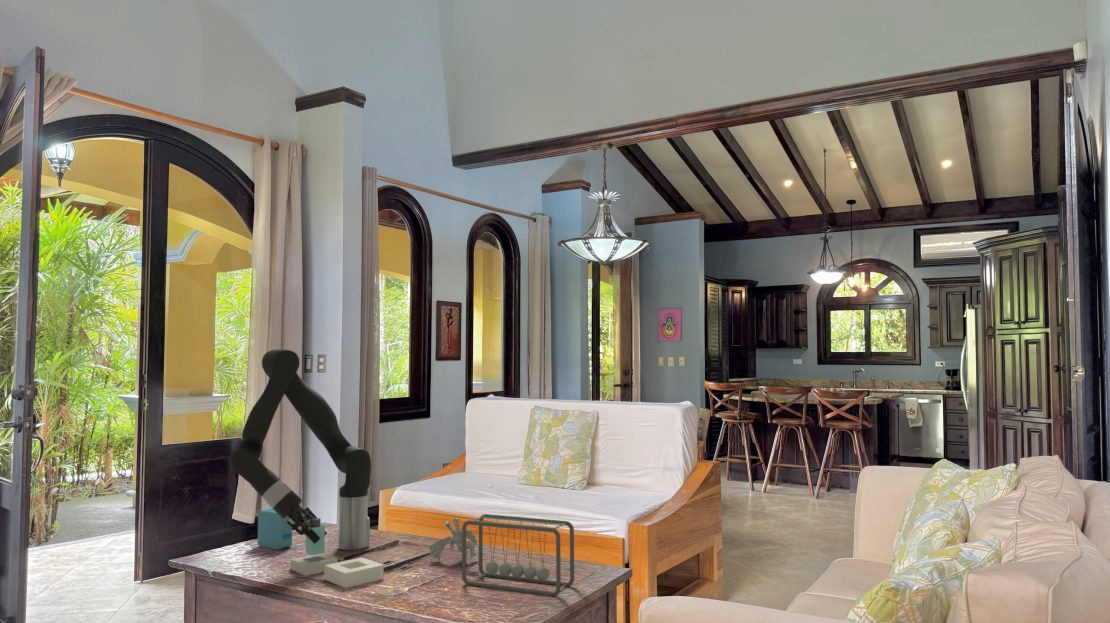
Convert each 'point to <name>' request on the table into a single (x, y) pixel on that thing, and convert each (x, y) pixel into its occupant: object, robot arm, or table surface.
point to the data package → (273, 530)
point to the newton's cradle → (517, 568)
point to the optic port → (353, 572)
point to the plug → (320, 531)
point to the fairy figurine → (454, 541)
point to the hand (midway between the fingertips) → (321, 538)
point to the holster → (312, 563)
